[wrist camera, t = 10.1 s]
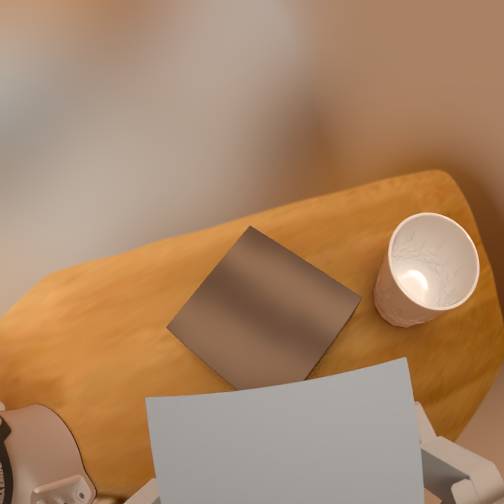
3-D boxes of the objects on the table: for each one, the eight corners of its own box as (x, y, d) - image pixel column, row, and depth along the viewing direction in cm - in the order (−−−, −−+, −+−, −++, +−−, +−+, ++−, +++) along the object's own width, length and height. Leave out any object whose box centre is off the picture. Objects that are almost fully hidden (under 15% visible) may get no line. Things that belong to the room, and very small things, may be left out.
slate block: (358, 469, 12) (423, 567, 3) (256, 485, 12) (185, 593, 3) (344, 376, 14) (406, 357, 5) (242, 393, 15) (145, 397, 6)
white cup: (361, 326, 29) (381, 299, 20) (373, 253, 32) (392, 203, 23) (432, 339, 27) (477, 317, 18) (440, 267, 30) (478, 223, 21)
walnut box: (280, 411, 28) (273, 417, 22) (190, 338, 32) (166, 327, 27) (353, 313, 30) (362, 297, 25) (260, 251, 35) (249, 225, 30)
